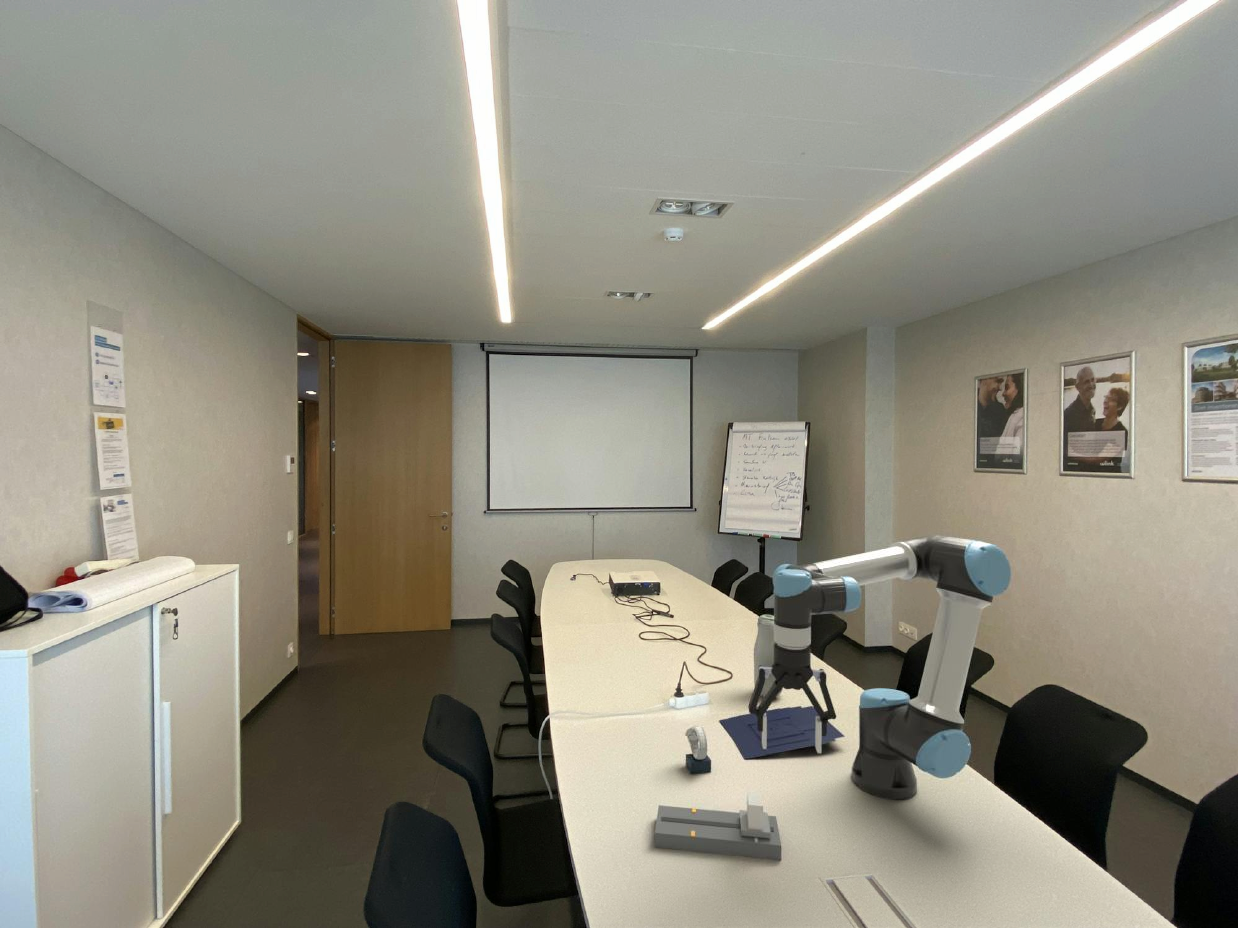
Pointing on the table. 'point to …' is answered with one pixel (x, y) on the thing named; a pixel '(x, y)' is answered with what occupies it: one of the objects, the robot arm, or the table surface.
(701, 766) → the watch
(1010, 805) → the table surface
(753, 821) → the fader tab
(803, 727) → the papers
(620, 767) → the table surface
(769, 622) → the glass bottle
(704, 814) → the console
